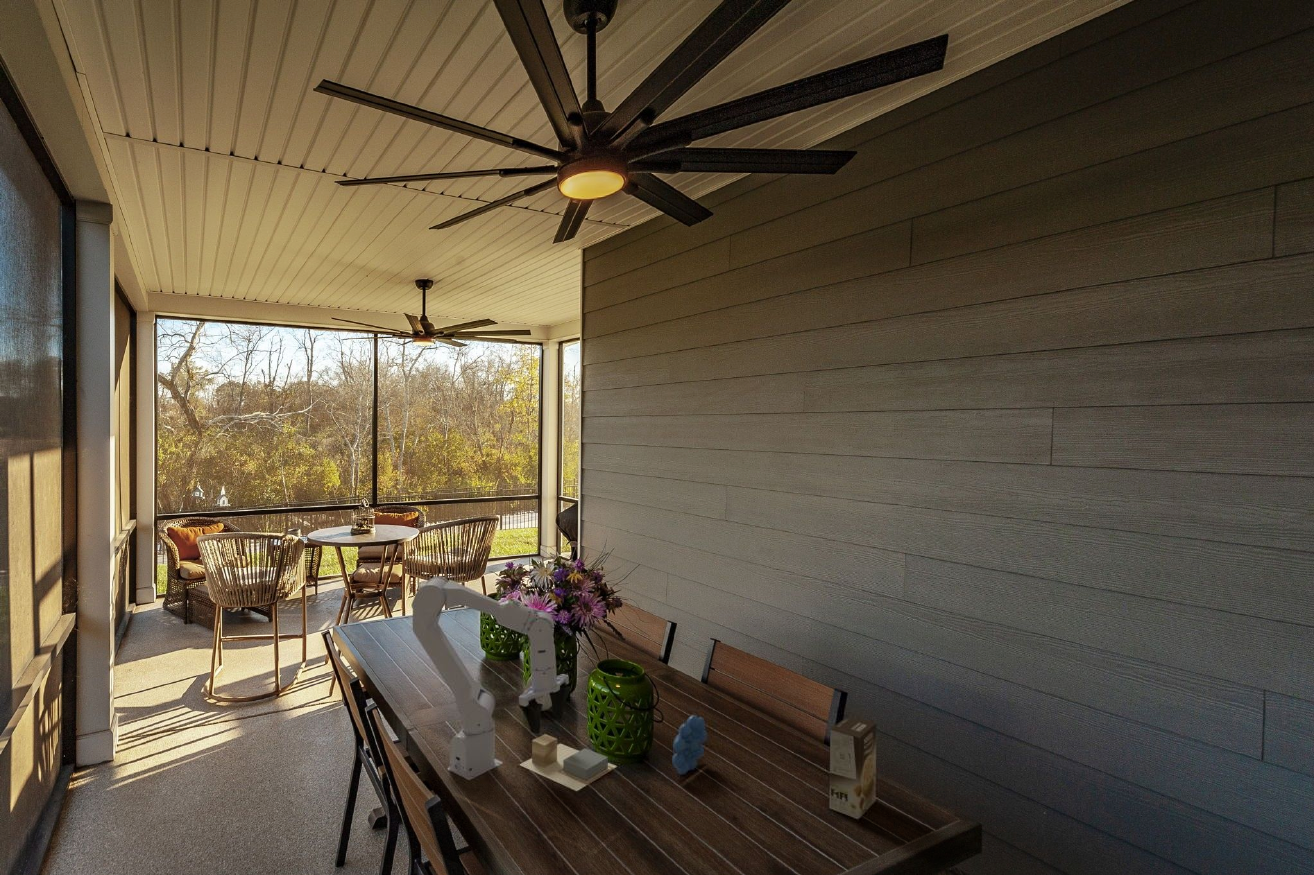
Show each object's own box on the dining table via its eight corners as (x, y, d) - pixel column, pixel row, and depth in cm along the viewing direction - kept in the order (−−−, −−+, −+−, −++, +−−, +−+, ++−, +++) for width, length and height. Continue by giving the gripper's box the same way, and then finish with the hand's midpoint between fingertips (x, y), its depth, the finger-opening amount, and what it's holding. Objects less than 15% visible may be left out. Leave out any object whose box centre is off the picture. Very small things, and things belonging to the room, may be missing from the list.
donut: (522, 707, 176) (523, 671, 177) (531, 703, 179) (532, 668, 179) (548, 716, 171) (548, 679, 171) (557, 712, 173) (558, 675, 174)
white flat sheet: (576, 794, 133) (576, 790, 133) (519, 767, 144) (519, 764, 144) (617, 769, 143) (617, 765, 143) (560, 746, 154) (560, 743, 154)
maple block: (544, 767, 142) (544, 745, 142) (531, 762, 145) (532, 740, 145) (557, 760, 146) (557, 739, 146) (544, 755, 148) (545, 734, 148)
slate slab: (586, 781, 137) (586, 769, 137) (563, 771, 141) (563, 760, 141) (607, 768, 142) (607, 757, 142) (584, 759, 146) (585, 748, 147)
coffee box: (859, 821, 124) (859, 738, 124) (828, 808, 128) (829, 729, 129) (876, 801, 131) (876, 723, 132) (846, 790, 135) (847, 714, 136)
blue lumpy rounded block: (689, 755, 150) (690, 704, 150) (713, 764, 146) (713, 711, 146) (658, 774, 141) (659, 720, 141) (682, 785, 137) (683, 729, 137)
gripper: (533, 680, 138) (537, 742, 138) (577, 658, 150) (580, 716, 150) (510, 675, 142) (514, 736, 141) (554, 654, 154) (558, 710, 154)
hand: (546, 725), depth 146 cm, fingers open, 7 cm apart
